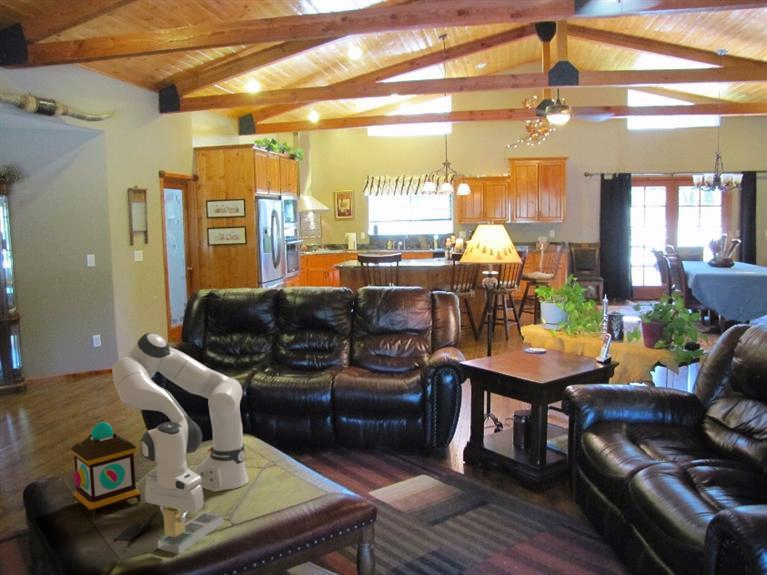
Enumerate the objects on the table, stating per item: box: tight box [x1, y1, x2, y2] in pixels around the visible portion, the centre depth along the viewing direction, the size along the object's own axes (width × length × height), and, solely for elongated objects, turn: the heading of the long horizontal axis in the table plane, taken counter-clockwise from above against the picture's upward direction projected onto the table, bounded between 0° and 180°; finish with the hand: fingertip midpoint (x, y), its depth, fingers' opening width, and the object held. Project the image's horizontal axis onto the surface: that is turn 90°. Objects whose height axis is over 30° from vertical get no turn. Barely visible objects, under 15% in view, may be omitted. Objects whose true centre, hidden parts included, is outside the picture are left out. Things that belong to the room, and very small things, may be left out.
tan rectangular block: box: [163, 507, 186, 537], centre depth 190 cm, size 4×4×8 cm
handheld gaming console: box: [113, 511, 159, 542], centre depth 199 cm, size 12×7×10 cm
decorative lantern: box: [70, 421, 141, 519], centre depth 221 cm, size 20×20×30 cm
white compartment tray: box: [157, 511, 224, 555], centre depth 197 cm, size 8×21×3 cm, turn 157°
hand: (174, 520), depth 190 cm, fingers closed on tan rectangular block, 4 cm apart
